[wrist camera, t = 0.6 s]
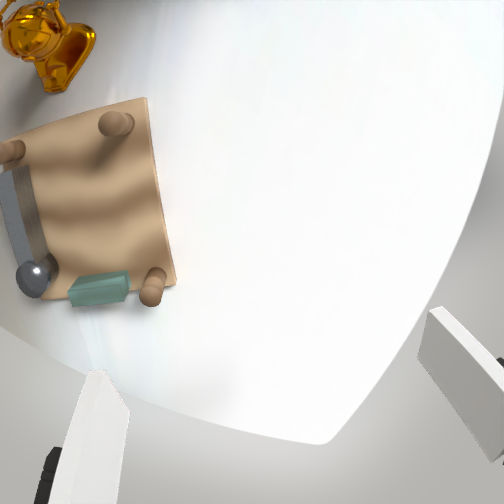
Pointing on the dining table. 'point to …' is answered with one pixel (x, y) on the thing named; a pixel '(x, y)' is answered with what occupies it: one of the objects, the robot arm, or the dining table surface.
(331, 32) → the dining table surface
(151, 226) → the board
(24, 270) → the leg
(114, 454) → the robot arm
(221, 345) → the dining table surface
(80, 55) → the figurine
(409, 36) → the dining table surface
